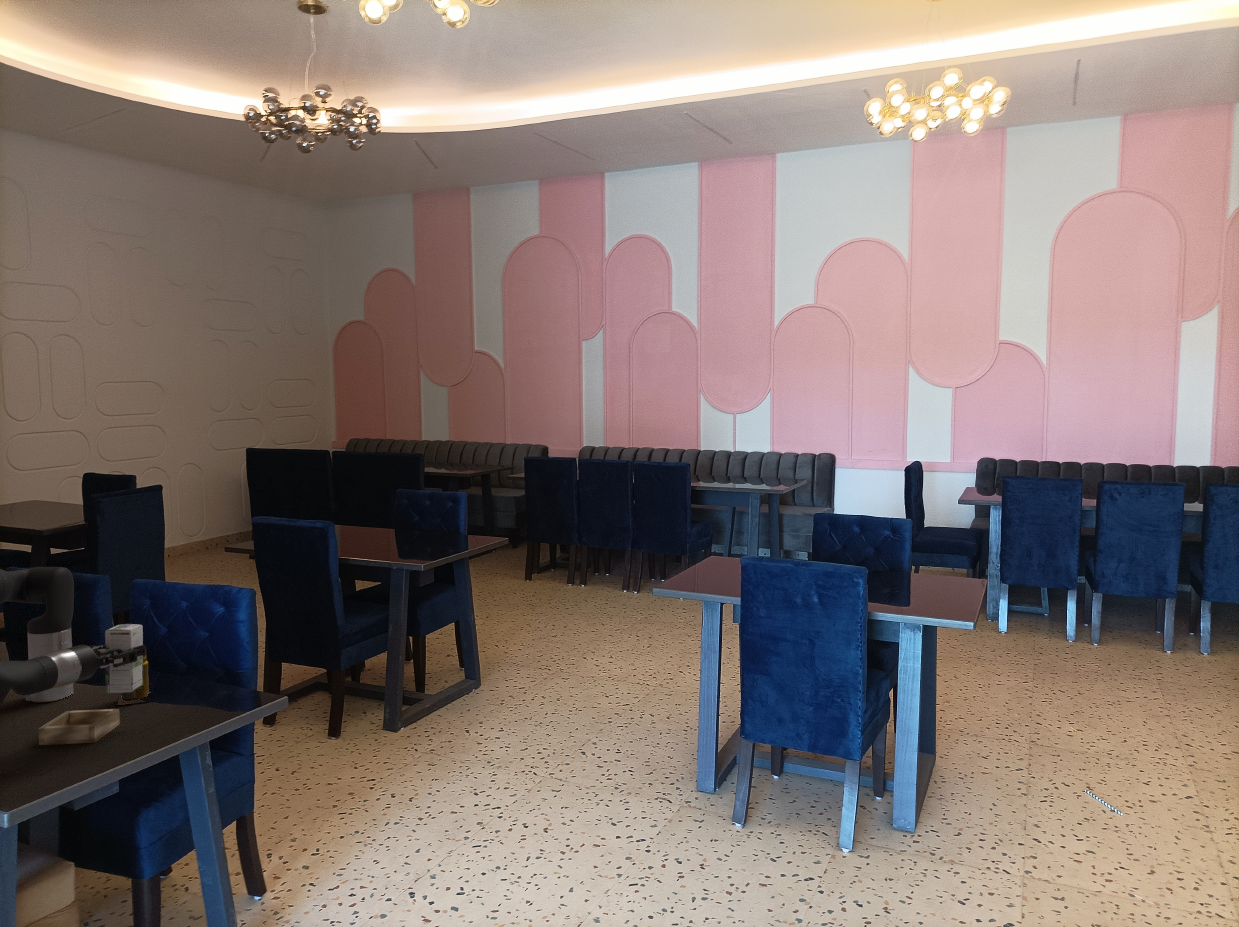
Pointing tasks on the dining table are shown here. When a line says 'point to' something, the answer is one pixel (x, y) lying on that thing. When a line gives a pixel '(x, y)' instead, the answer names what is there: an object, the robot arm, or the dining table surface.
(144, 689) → the condiment
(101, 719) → the wooden tray
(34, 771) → the dining table surface
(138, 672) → the syrup box
